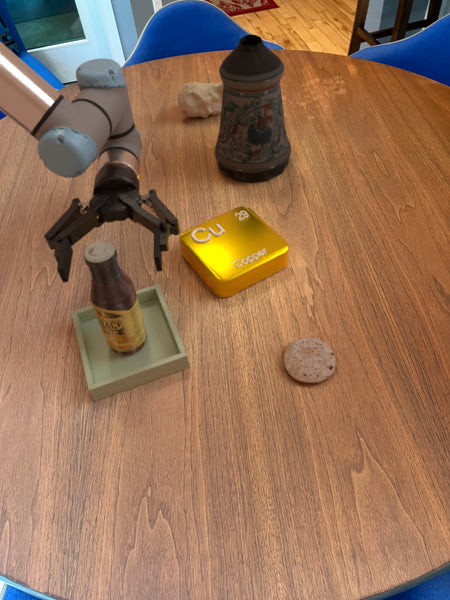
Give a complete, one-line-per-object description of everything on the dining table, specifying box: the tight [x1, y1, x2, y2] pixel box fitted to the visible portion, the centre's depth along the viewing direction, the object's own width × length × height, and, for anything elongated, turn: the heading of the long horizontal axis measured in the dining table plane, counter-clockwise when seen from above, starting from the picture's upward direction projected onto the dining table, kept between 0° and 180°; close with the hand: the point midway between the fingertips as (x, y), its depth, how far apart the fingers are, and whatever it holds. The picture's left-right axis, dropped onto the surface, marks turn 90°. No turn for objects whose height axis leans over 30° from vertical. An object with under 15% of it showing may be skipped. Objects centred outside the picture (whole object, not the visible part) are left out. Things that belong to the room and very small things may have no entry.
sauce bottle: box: [83, 240, 147, 355], centre depth 67 cm, size 7×6×20 cm
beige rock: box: [177, 79, 223, 119], centre depth 119 cm, size 15×7×15 cm
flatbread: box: [283, 336, 336, 384], centre depth 71 cm, size 8×8×1 cm
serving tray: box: [70, 283, 191, 402], centre depth 74 cm, size 16×15×3 cm
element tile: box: [179, 205, 290, 299], centre depth 85 cm, size 15×15×5 cm
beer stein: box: [214, 33, 292, 184], centre depth 97 cm, size 16×19×25 cm
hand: (110, 270), depth 68 cm, fingers open, 13 cm apart
